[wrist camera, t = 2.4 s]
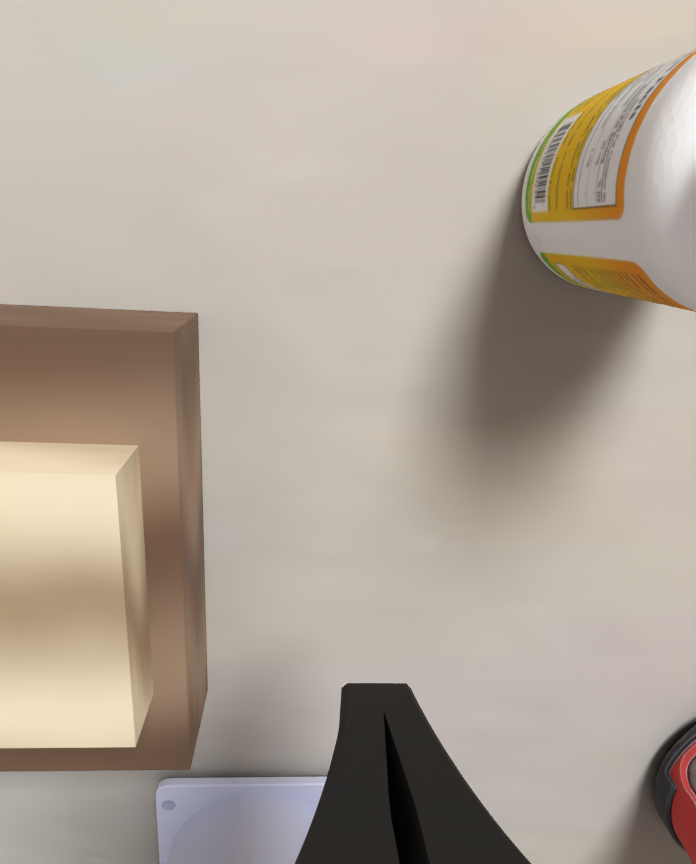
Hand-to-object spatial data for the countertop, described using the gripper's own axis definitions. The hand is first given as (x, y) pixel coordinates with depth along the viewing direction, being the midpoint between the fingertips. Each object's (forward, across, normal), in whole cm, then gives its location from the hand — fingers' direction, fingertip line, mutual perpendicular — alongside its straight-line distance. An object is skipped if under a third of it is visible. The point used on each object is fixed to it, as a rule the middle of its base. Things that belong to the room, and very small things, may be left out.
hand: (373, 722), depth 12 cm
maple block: (+5, +9, 0) cm, 10 cm away
